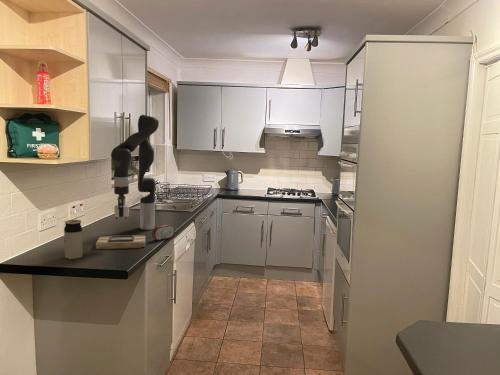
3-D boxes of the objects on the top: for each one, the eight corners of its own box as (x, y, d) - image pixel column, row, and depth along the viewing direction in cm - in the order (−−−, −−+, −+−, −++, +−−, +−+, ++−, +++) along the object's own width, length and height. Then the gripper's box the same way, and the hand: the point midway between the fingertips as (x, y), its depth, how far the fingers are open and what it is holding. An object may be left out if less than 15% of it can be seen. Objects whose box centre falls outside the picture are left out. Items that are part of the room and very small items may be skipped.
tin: (172, 236, 239) (172, 222, 238) (175, 237, 237) (175, 223, 236) (151, 240, 228) (151, 226, 227) (155, 241, 226) (155, 227, 225)
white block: (115, 217, 217) (115, 205, 216) (128, 217, 219) (128, 205, 218) (114, 219, 212) (114, 207, 212) (128, 218, 214) (127, 206, 213)
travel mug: (85, 254, 197) (84, 219, 195) (78, 259, 190) (77, 223, 187) (69, 254, 197) (68, 219, 195) (62, 259, 189) (61, 222, 187)
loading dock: (99, 241, 222) (99, 234, 221) (145, 240, 228) (145, 233, 227) (95, 249, 207) (95, 241, 207) (144, 247, 213) (144, 240, 213)
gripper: (115, 183, 219) (115, 213, 222) (112, 186, 206) (113, 218, 208) (129, 183, 221) (129, 213, 223) (127, 186, 207) (127, 218, 209)
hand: (121, 215), depth 216 cm, fingers closed on white block, 5 cm apart
